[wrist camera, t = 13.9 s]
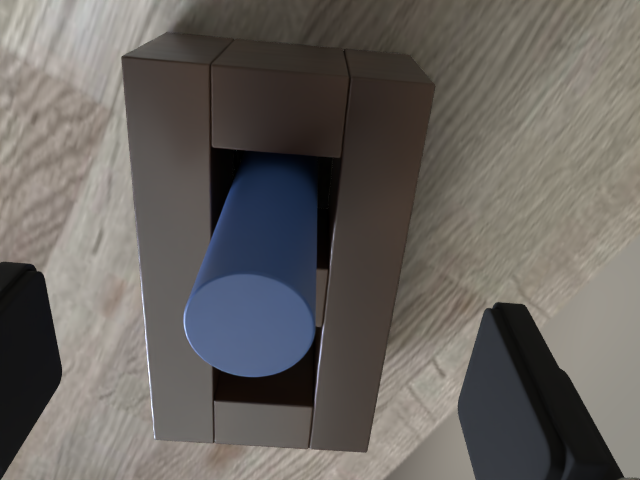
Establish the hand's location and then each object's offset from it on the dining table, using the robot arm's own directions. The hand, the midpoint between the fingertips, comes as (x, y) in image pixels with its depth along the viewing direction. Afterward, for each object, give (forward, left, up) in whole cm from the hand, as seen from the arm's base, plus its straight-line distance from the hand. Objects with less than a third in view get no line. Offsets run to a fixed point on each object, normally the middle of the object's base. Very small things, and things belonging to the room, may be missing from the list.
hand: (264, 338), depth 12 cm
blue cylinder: (0, 0, -12) cm, 12 cm away
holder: (0, +3, -12) cm, 12 cm away
